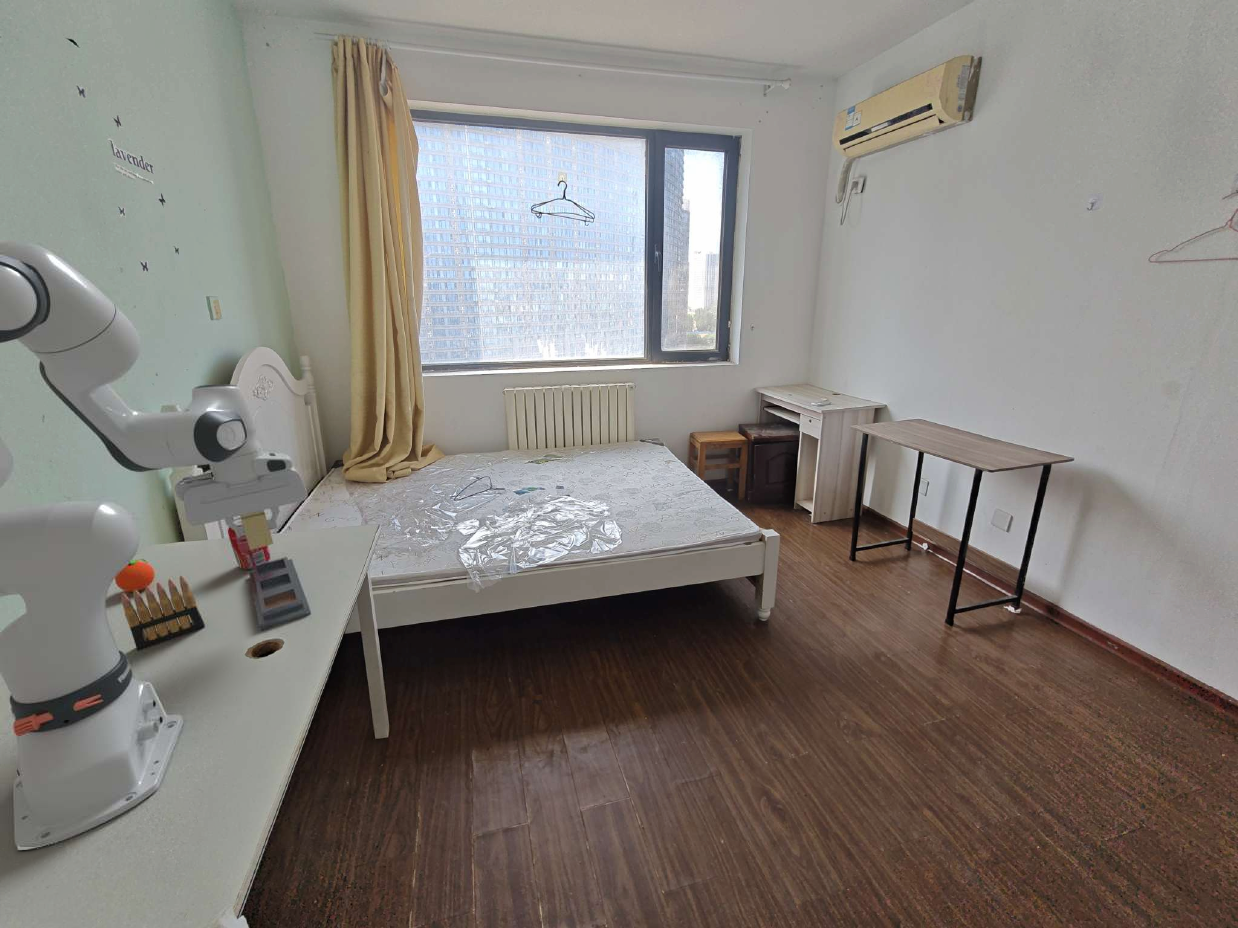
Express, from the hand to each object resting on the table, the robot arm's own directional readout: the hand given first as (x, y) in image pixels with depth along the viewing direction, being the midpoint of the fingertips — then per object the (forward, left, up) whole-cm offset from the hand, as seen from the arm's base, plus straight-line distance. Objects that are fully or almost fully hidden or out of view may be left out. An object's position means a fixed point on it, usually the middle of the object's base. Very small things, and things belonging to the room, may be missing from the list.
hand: (257, 532), depth 110 cm
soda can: (+29, +2, -19) cm, 35 cm away
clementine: (+34, +25, -19) cm, 46 cm away
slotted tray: (+8, -1, -18) cm, 20 cm away
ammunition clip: (+4, +18, -19) cm, 27 cm away
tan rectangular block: (0, 0, -3) cm, 3 cm away
